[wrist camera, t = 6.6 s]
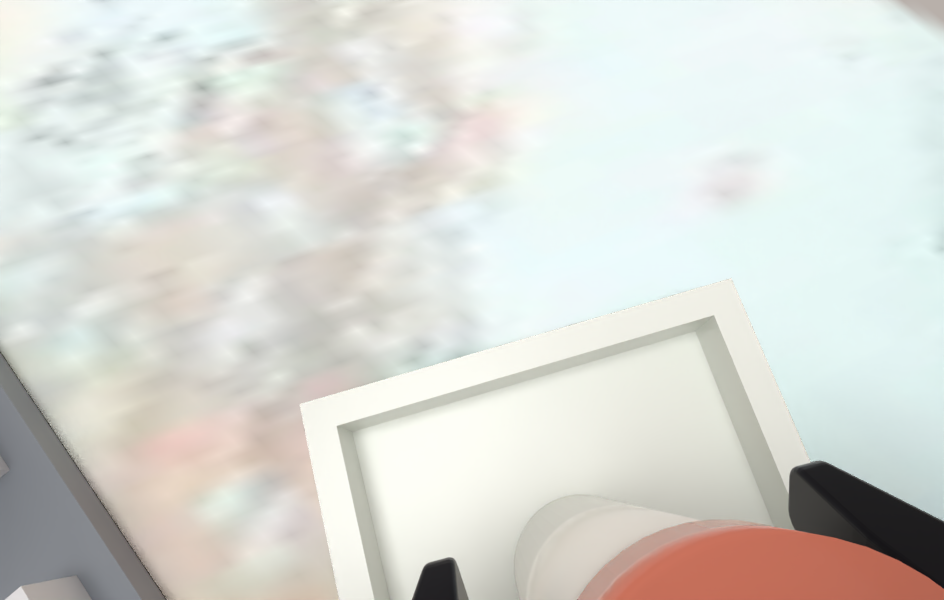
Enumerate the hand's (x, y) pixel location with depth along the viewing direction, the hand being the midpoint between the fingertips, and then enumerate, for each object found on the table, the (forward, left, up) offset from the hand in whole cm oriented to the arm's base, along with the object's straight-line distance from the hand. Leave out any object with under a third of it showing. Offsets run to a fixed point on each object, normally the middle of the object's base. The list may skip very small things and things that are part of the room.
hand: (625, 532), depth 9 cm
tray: (-1, 0, -9) cm, 10 cm away
